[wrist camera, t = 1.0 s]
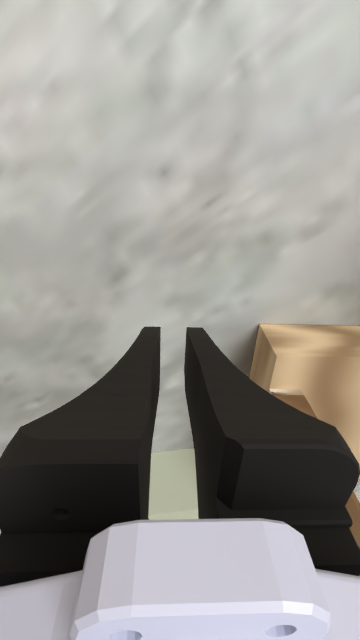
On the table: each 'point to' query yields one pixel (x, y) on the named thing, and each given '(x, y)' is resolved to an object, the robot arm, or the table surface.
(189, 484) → the sage cube
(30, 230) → the table surface
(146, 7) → the table surface
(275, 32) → the table surface
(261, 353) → the oak step
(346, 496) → the robot arm
